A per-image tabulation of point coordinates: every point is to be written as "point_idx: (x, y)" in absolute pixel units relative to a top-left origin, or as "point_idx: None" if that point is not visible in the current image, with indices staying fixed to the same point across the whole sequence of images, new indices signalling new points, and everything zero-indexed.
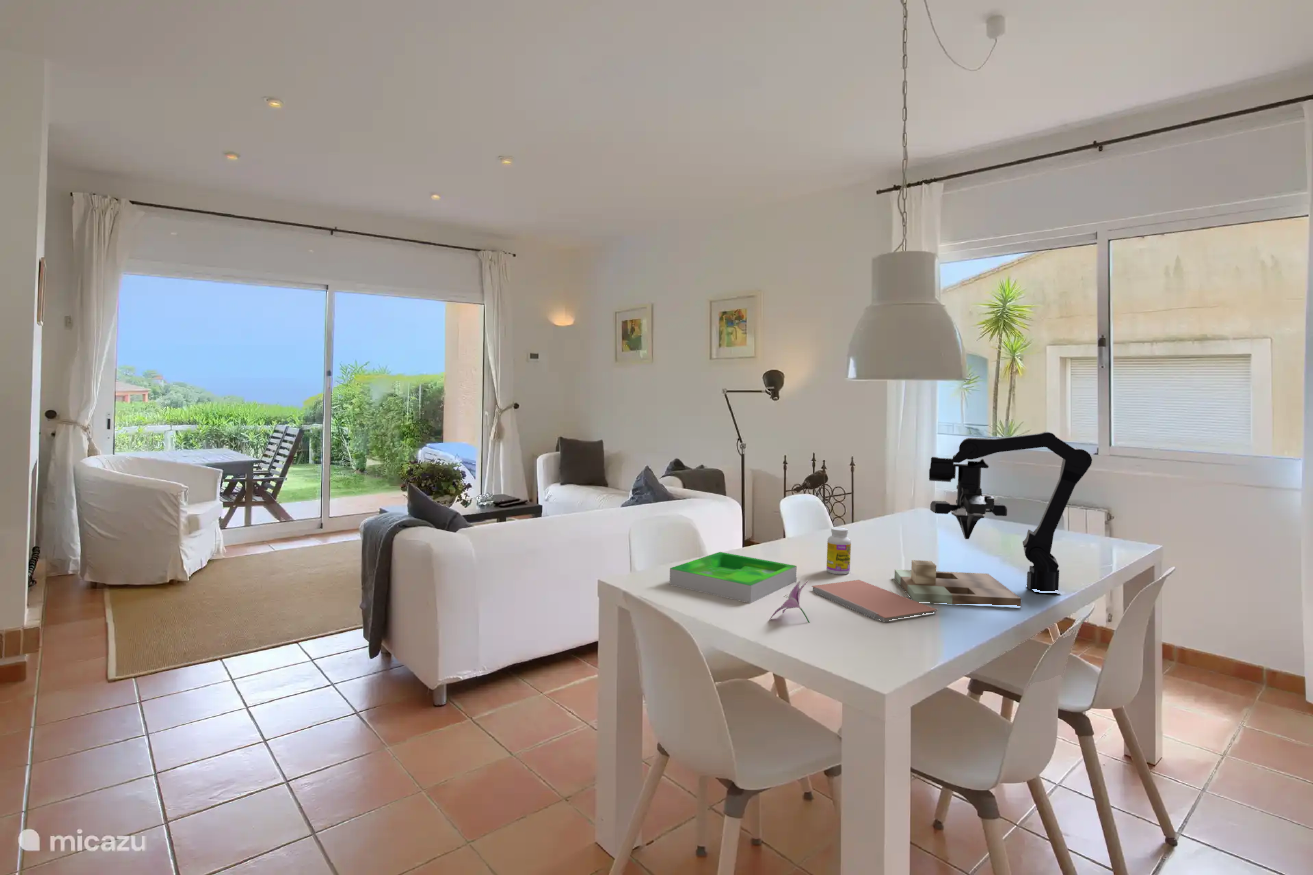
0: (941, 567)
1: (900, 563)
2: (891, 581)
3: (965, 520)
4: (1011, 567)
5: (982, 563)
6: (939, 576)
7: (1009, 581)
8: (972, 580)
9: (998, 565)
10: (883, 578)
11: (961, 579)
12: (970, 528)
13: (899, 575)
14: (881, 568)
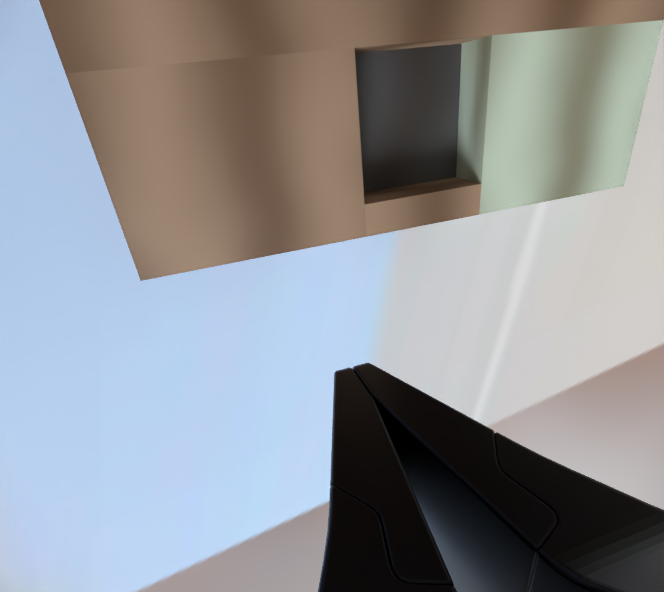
0: None
1: (482, 421)
2: None
3: (622, 561)
4: (24, 581)
5: (161, 571)
6: (419, 187)
7: (16, 333)
8: (264, 33)
9: (89, 579)
10: None
11: (336, 45)
12: (381, 464)
13: (652, 55)
14: (573, 321)
